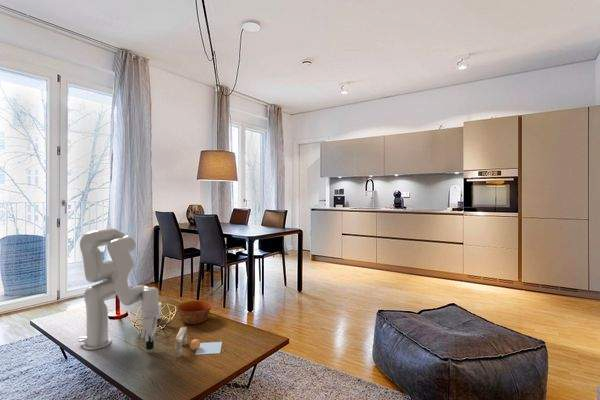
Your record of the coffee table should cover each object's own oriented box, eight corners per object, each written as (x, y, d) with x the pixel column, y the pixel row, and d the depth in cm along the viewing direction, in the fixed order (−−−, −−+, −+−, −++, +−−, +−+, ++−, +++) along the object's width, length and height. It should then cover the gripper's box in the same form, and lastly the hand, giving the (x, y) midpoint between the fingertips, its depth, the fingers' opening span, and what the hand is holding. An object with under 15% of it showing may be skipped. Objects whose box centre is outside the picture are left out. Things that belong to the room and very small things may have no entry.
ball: (196, 340, 165) (201, 348, 165) (198, 335, 170) (202, 343, 170) (187, 345, 164) (192, 353, 165) (189, 340, 169) (193, 348, 170)
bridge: (174, 357, 159) (174, 339, 159) (180, 343, 173) (180, 327, 173) (181, 356, 160) (181, 339, 160) (186, 343, 174) (186, 327, 173)
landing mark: (195, 354, 162) (195, 354, 162) (199, 343, 174) (199, 343, 174) (220, 353, 164) (220, 352, 164) (222, 342, 176) (222, 341, 176)
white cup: (164, 318, 205) (164, 303, 205) (153, 323, 198) (153, 307, 198) (155, 316, 209) (155, 301, 208) (144, 320, 201) (144, 304, 201)
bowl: (201, 312, 217) (202, 297, 217) (218, 321, 202) (218, 306, 202) (170, 320, 202) (170, 304, 202) (186, 331, 187) (186, 314, 187)
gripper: (146, 307, 170) (146, 342, 171) (136, 318, 156) (136, 356, 156) (161, 307, 171) (161, 341, 172) (153, 318, 157) (153, 355, 157)
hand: (149, 348), depth 164 cm, fingers closed
